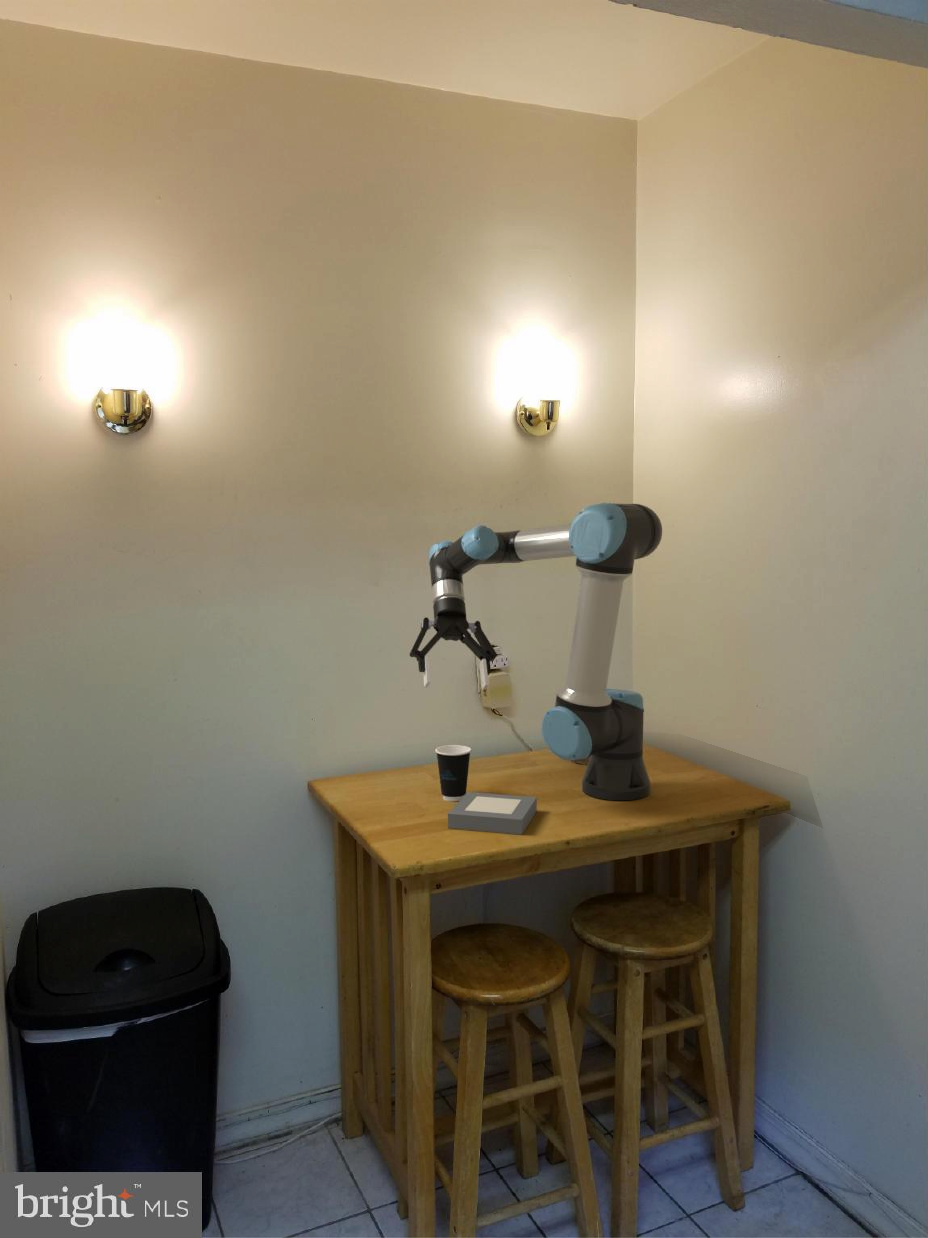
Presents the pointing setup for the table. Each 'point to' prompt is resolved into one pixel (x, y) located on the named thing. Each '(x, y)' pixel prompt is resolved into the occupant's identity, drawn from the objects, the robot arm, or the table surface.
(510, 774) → the table surface
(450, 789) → the dixie cup
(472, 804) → the plinth
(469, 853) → the table surface
